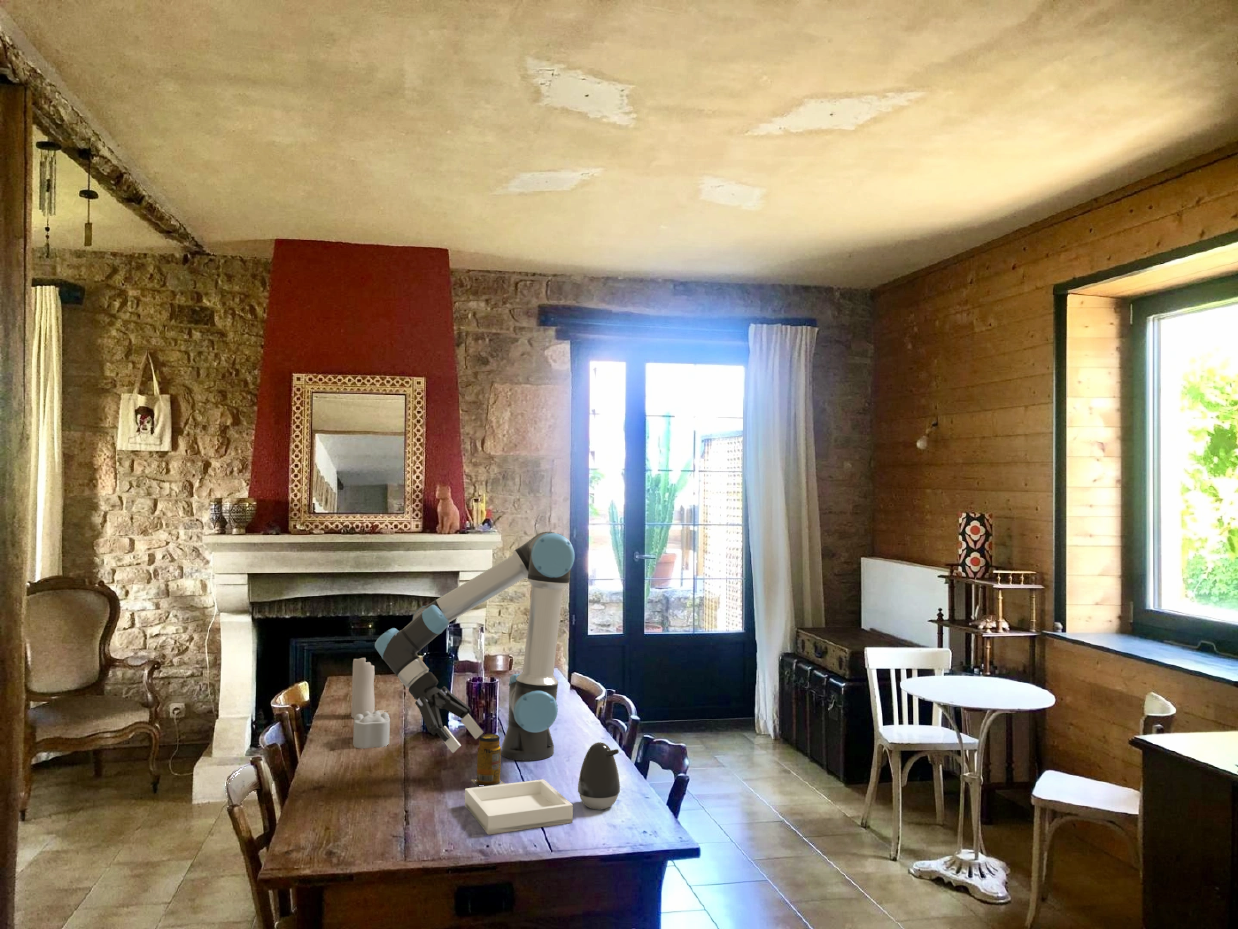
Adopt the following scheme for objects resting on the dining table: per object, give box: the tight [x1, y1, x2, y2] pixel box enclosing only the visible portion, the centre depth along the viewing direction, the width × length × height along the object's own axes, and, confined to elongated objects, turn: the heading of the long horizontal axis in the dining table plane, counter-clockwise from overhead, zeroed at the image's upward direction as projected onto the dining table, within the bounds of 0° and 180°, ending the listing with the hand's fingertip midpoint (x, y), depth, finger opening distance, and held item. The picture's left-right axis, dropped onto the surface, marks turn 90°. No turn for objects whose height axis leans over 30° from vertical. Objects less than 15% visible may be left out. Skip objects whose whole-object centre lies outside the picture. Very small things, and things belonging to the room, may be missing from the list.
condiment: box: [470, 733, 506, 787], centre depth 232 cm, size 7×8×12 cm
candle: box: [350, 657, 386, 719], centre depth 302 cm, size 7×14×20 cm, turn 148°
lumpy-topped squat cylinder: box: [352, 710, 391, 749], centre depth 268 cm, size 10×13×9 cm
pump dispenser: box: [577, 742, 621, 810], centre depth 217 cm, size 10×10×15 cm
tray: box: [464, 779, 574, 836], centre depth 210 cm, size 20×20×4 cm
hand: (468, 742), depth 233 cm, fingers open, 13 cm apart
